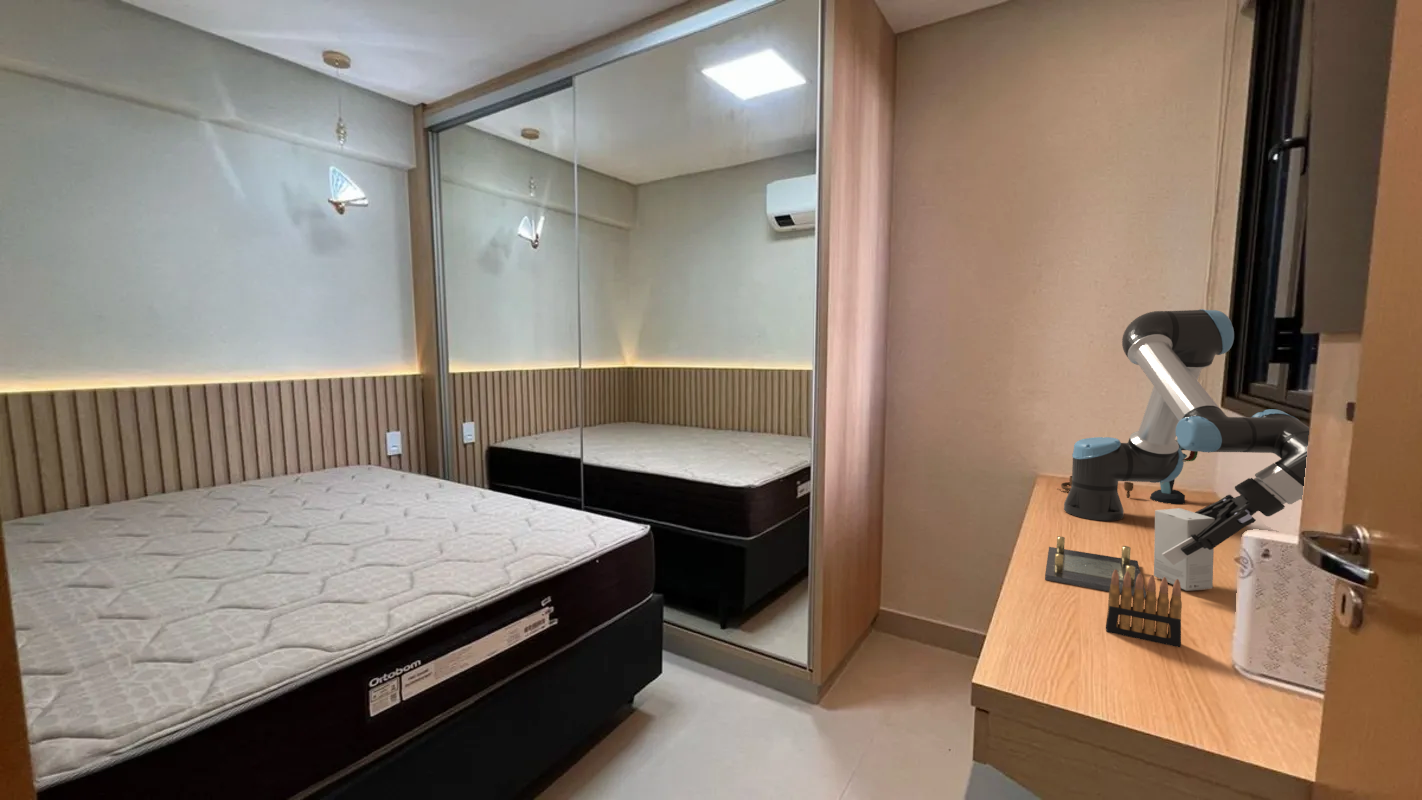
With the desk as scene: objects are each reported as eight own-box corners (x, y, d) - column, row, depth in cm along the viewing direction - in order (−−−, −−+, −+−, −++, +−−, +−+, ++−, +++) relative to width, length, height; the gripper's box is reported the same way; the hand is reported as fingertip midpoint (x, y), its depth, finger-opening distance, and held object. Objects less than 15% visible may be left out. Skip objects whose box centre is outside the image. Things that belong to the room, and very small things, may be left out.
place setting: (1091, 485, 205) (1092, 470, 204) (1136, 500, 185) (1137, 483, 185) (1046, 487, 204) (1047, 471, 203) (1087, 502, 184) (1088, 485, 183)
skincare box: (1213, 590, 118) (1218, 518, 116) (1184, 591, 117) (1189, 520, 115) (1177, 573, 126) (1181, 507, 124) (1150, 575, 125) (1154, 508, 124)
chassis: (1048, 551, 142) (1049, 531, 141) (1137, 565, 132) (1138, 544, 131) (1044, 579, 125) (1045, 557, 125) (1145, 598, 115) (1146, 574, 115)
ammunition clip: (1179, 642, 99) (1183, 578, 98) (1180, 647, 97) (1185, 582, 96) (1105, 627, 104) (1108, 566, 103) (1106, 632, 103) (1109, 570, 102)
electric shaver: (1143, 496, 188) (1146, 438, 186) (1181, 496, 187) (1185, 438, 185) (1161, 504, 179) (1165, 443, 177) (1201, 504, 178) (1206, 443, 176)
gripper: (1305, 521, 102) (1187, 584, 112) (1270, 492, 120) (1172, 548, 131) (1268, 489, 104) (1155, 554, 114) (1239, 465, 123) (1145, 523, 133)
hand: (1164, 551), depth 123 cm, fingers closed on skincare box, 10 cm apart
